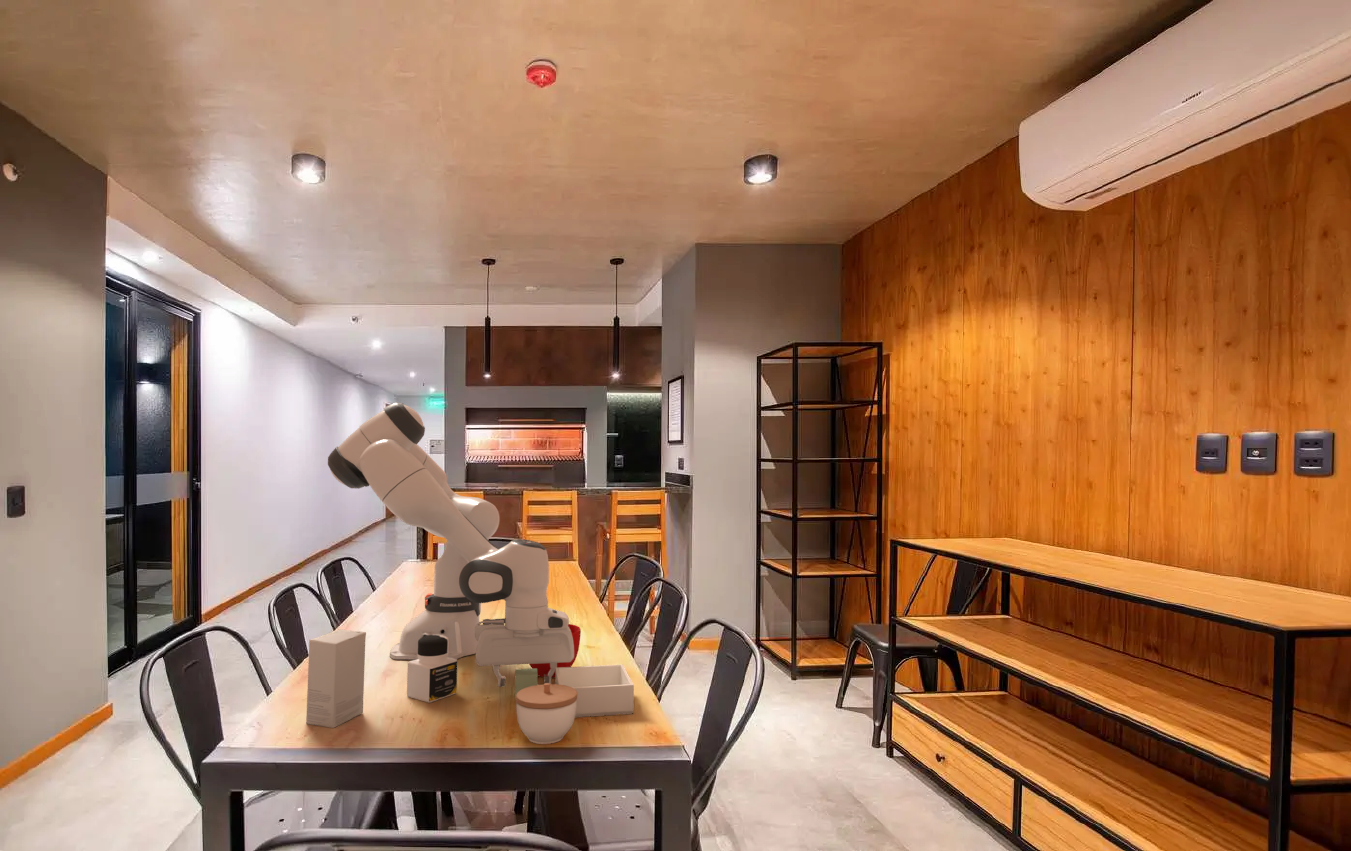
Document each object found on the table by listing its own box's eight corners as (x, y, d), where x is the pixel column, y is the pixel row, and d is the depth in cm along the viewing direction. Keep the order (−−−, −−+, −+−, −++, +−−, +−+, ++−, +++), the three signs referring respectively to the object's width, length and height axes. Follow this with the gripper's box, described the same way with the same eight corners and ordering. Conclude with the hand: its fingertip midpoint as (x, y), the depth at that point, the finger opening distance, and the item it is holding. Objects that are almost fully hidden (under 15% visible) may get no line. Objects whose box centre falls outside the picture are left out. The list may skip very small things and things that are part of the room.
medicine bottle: (429, 703, 145) (431, 642, 145) (405, 696, 149) (407, 637, 149) (457, 693, 151) (458, 635, 151) (434, 687, 155) (435, 630, 155)
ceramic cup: (578, 659, 177) (578, 618, 178) (581, 681, 161) (582, 635, 161) (523, 661, 175) (524, 619, 176) (521, 683, 158) (522, 636, 159)
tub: (559, 718, 138) (559, 689, 138) (555, 694, 151) (555, 667, 152) (633, 713, 141) (633, 684, 141) (622, 690, 155) (622, 664, 155)
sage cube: (514, 697, 149) (515, 675, 150) (514, 690, 154) (515, 669, 154) (537, 696, 150) (537, 674, 150) (536, 689, 155) (537, 668, 155)
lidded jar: (525, 725, 134) (526, 673, 135) (582, 727, 133) (583, 676, 134) (506, 748, 123) (508, 691, 124) (568, 751, 122) (569, 694, 123)
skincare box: (337, 709, 141) (340, 628, 141) (366, 713, 139) (368, 631, 139) (303, 724, 133) (307, 638, 133) (333, 729, 131) (336, 641, 131)
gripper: (474, 622, 147) (472, 692, 147) (575, 619, 152) (574, 687, 151) (476, 616, 153) (474, 682, 153) (573, 613, 158) (571, 678, 157)
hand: (524, 684), depth 152 cm, fingers open, 8 cm apart
